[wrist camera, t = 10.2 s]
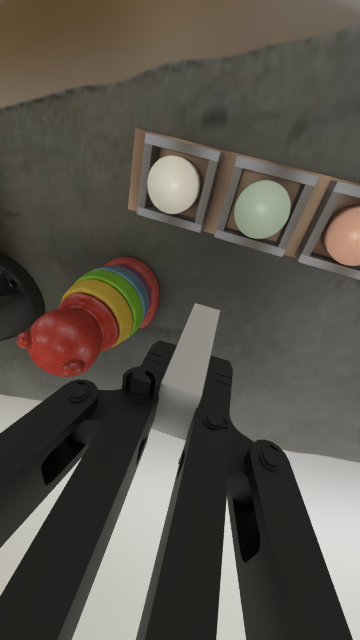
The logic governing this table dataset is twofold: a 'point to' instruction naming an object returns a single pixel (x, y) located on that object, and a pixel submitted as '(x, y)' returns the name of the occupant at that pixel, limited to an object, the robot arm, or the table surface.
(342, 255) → the terracotta button
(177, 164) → the ivory button
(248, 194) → the sage button
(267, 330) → the table surface
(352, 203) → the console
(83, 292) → the stacking bear
